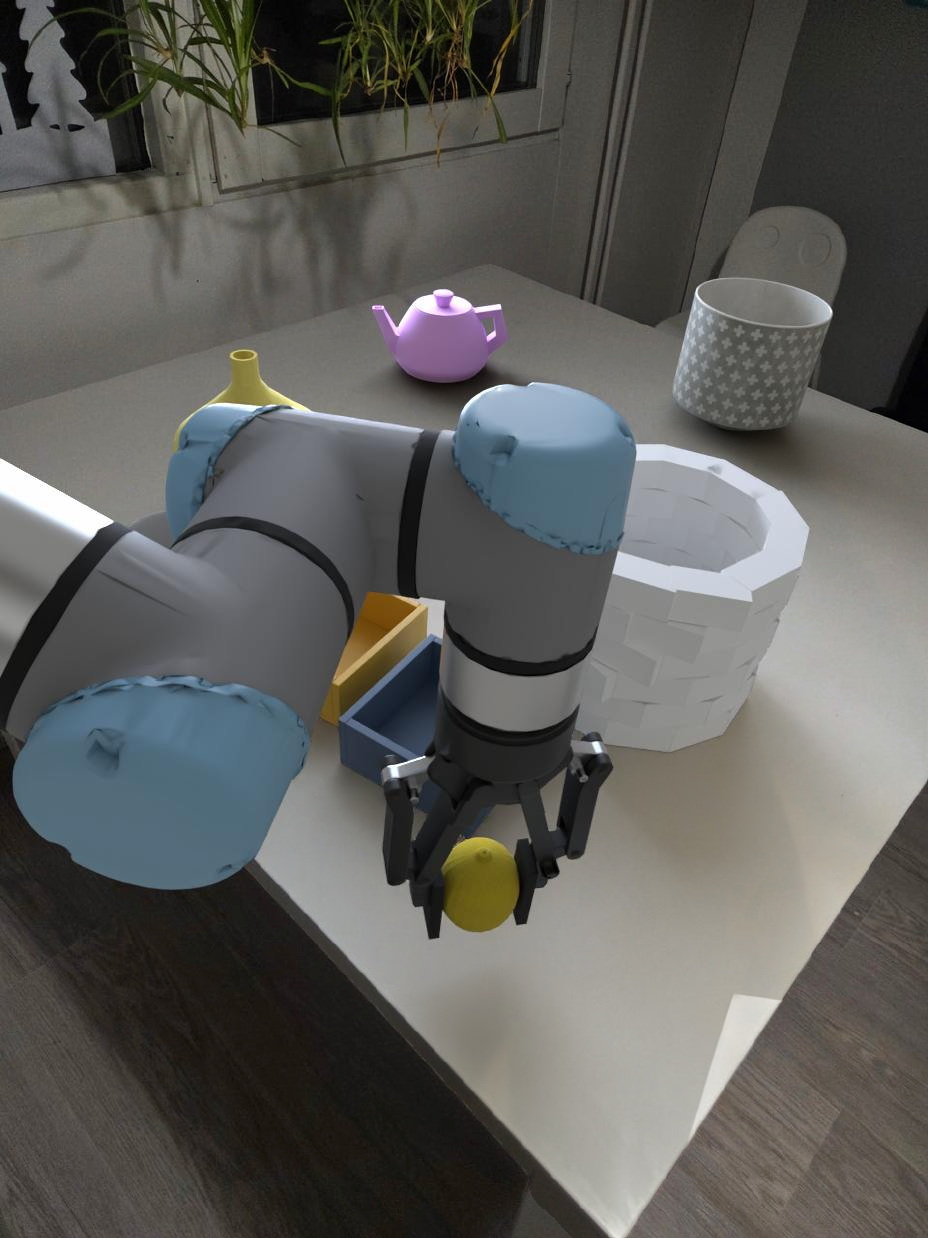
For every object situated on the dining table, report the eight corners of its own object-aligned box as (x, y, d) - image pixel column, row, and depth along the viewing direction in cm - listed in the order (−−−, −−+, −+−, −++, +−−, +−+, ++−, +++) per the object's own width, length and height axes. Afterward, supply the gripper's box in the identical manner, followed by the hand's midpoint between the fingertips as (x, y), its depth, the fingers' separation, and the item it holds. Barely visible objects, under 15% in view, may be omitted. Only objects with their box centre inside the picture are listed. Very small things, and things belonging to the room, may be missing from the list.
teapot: (498, 347, 143) (505, 276, 135) (512, 387, 132) (520, 311, 124) (371, 345, 141) (370, 273, 133) (374, 386, 129) (373, 309, 121)
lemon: (490, 968, 56) (502, 906, 50) (420, 928, 57) (425, 863, 52) (525, 904, 59) (540, 840, 54) (458, 868, 61) (467, 803, 56)
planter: (659, 432, 123) (688, 311, 111) (675, 381, 137) (702, 269, 125) (789, 459, 119) (834, 336, 107) (792, 404, 133) (832, 290, 121)
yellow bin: (233, 666, 81) (225, 624, 77) (324, 596, 89) (321, 555, 86) (340, 729, 75) (338, 686, 72) (426, 648, 84) (428, 606, 81)
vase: (314, 456, 112) (304, 316, 99) (353, 530, 99) (348, 381, 87) (174, 477, 106) (145, 330, 93) (197, 558, 93) (168, 402, 81)
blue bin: (340, 762, 73) (337, 719, 69) (428, 674, 81) (430, 632, 78) (469, 839, 67) (473, 797, 64) (548, 737, 76) (556, 695, 73)
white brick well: (520, 578, 94) (541, 429, 82) (730, 603, 93) (783, 455, 81) (504, 745, 75) (528, 583, 63) (768, 779, 74) (844, 621, 62)
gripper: (649, 622, 47) (582, 850, 63) (325, 650, 44) (337, 885, 59) (703, 719, 42) (615, 943, 57) (337, 760, 38) (347, 988, 53)
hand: (474, 913), depth 58 cm, fingers closed on lemon, 5 cm apart
